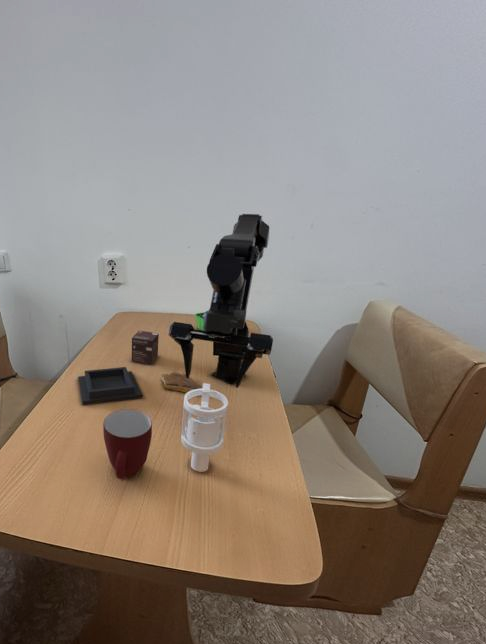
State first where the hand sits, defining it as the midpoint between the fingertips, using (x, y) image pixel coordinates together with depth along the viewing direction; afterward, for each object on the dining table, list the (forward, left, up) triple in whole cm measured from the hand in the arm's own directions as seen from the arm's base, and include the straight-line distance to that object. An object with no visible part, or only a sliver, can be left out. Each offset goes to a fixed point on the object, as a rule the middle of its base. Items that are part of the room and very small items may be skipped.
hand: (211, 382), depth 70 cm
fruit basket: (-47, -33, -12) cm, 59 cm away
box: (-15, -33, -12) cm, 38 cm away
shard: (-12, -16, -12) cm, 23 cm away
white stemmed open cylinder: (+8, +5, -12) cm, 15 cm away
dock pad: (+3, -27, -12) cm, 30 cm away
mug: (+19, -2, -12) cm, 23 cm away
